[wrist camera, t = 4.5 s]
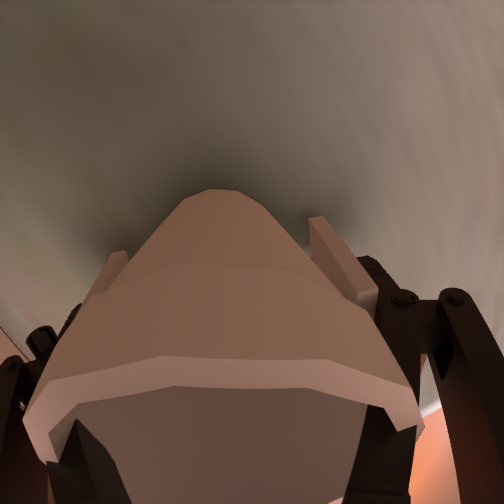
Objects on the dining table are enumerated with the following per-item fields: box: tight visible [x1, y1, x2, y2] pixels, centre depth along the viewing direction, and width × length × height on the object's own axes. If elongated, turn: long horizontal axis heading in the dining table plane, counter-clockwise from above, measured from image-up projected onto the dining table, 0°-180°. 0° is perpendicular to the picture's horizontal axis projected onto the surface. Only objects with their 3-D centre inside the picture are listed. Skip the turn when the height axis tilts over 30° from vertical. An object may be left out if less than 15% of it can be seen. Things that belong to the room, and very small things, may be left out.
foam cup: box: [22, 189, 425, 504], centre depth 12 cm, size 10×9×13 cm
